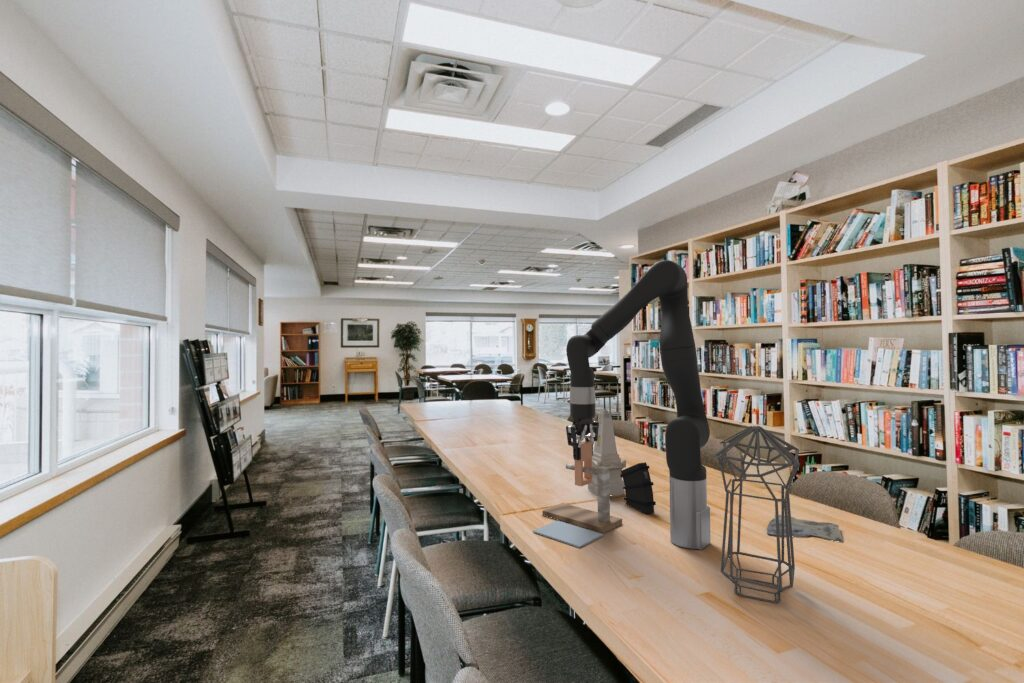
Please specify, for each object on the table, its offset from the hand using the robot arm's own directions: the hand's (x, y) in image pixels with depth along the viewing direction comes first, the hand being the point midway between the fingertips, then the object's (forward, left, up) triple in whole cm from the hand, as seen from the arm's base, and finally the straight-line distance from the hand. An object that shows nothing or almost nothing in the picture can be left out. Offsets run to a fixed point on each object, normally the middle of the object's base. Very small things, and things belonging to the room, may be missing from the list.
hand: (583, 457), depth 146 cm
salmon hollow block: (0, 0, -8) cm, 8 cm away
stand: (+1, 0, -19) cm, 19 cm away
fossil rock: (-50, -34, -19) cm, 63 cm away
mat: (-3, +12, -19) cm, 22 cm away
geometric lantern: (-52, +11, -19) cm, 56 cm away
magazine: (-6, -21, -19) cm, 29 cm away
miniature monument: (+11, -29, -19) cm, 36 cm away
